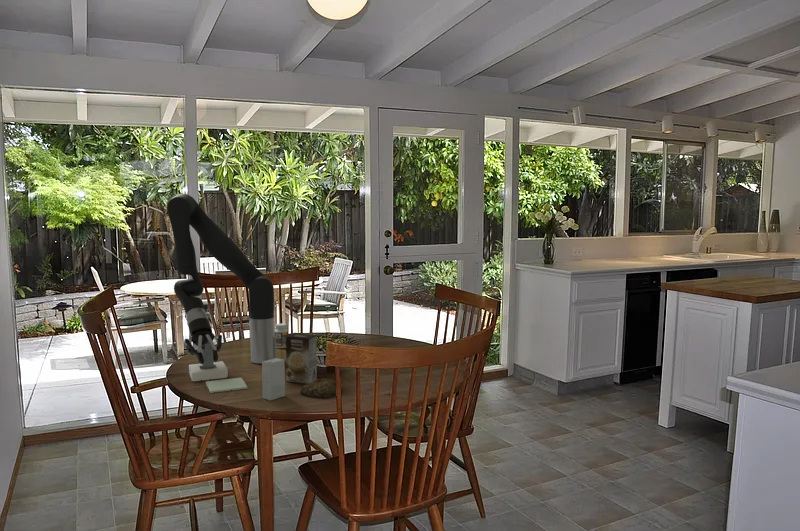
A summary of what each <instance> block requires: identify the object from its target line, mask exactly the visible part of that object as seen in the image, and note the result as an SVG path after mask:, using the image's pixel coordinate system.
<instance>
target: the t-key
mask: <svg viewBox="0 0 800 531" xmlns="http://www.w3.org/2000/svg"><path fill="white" fill-rule="evenodd" d="M203 346H204V347H201V353H202V355H203V359H204V363H203V364H202V370H203V369H213V368H214V360H213V347H211V343H210V341H203Z"/></svg>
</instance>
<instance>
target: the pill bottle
mask: <svg viewBox="0 0 800 531" xmlns="http://www.w3.org/2000/svg"><path fill="white" fill-rule="evenodd" d="M288 335H289V329H287V323H283V322H282V323H275V329H274V336H275V337H276V349H286V336H288Z"/></svg>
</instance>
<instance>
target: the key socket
mask: <svg viewBox="0 0 800 531" xmlns="http://www.w3.org/2000/svg"><path fill="white" fill-rule="evenodd" d="M228 370H229V369H228V367H227V365H226V364H225V363H224V361H222V360H221V361H217V362H214V368H213V369H203V370H202V364H201V363H195V364H194V363H193V364H188V374H189V376H190V379H191V382H192V381H193V382H199V381H201V380H202V381H211V380H217V379H218V380H220V379H228V378H229V371H228ZM227 377H228V378H227ZM210 379H211V380H210ZM202 381H201V382H202Z"/></svg>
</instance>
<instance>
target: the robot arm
mask: <svg viewBox="0 0 800 531" xmlns="http://www.w3.org/2000/svg"><path fill="white" fill-rule="evenodd" d="M166 212H167V216H168V219H169V223H170V226H171V229H172V235H173V241H174V248H175V260H176V270H177V273H178V274H180V275H183V276H185V275H186V276H191V278H188V279H187V278H186V279H179V280H177V281H175V283H174V284H173V291H174V294H175V296H176V298H177V299H178V300H179V301H180V303H181V305H182V307H183V309H184V313H185V317H186V324H187V326H188V330H189V334H190V338H185V339H184V342H183V345H184V346H185V348H186V349H187V351H188V353H189V354H190V355H191V356H194V355H195V356H196V357H197V360H198V364H203V363H204V359H203V355H202V350H201V347H204V346H203V341H210V343H211V347H213V360H214V362H219V361H218V360H219V355H218V354H219V352H220V351H221V349H222V343H223V335H222V334H219V335H215V334H214V333H213V330H212V327H211V323H210V320H209V317H208V314H207V312H206V309H205V306H204V301H203V300H202V298H200V296H201V295H203V292H204V284H203V282H202V279H201V277H200V274H199V271H198V266H197V265H198V264H197V256H196V250H195V246H194V243H193V242H194V241H193V239H192V236H191V227H192V229H194V231H195V232H196V233H197V234H198V237H199V238H200V241H201V242H202V245H203V246H204V247H205V249H206V250H207V251H208V252H209V254H210V255H211V256H213V258H214V259H216V260H217V262H219V264H220V265H222V266H223V267H225V268H226V269H227V270H229V271H230V272H231V273H233V274H234V275H235V276H236V277H237V278H238V279H239V280H240V281H241V283H243V284H244V286H245V287H246V288H247V290H248V296H249V297H248V300H249V301H248V303H249V305H248V307H249V311H248V312H249V337H250V338H249V339H250V340H249V342H250V362H251V363H253V364H262V361H267V360H271V359H275V358H277V348H276V337H275V333H274V332H275V289H274V284H273V282H272V281H271V279H270V278H269V277H267V276H266V275H265V274H264V273H262V271H260V270H259V269H258V268H256V266H255V265H253V263H252V262H250V260H249V258H247V256H246V255H245V253H244V252H243V251H242V250H241V248H240V247H239V246H238V245H237V244H236V243H235V241H233V239H232V238H231V237H230V236H229V235H227V233H226V232H224V231H223V229H221V227H219V225H217V223H216V222H214V221H213V220H212V219H211V218H210V217H209V216H208V214H207V213H206V212H205V211H204V210H203V208H202V207H201V206H200V205H199V203H198V202H197V201H196V199H195V198H194V197H193V196H191V195H190V194H188V193H179V194H177V195H175V196H173V197H171V198H170V199H169V200H168V201H167V203H166ZM214 340H215V342H216V345H215V343H214ZM193 345H195V346H196V348H194V346H193Z"/></svg>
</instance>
